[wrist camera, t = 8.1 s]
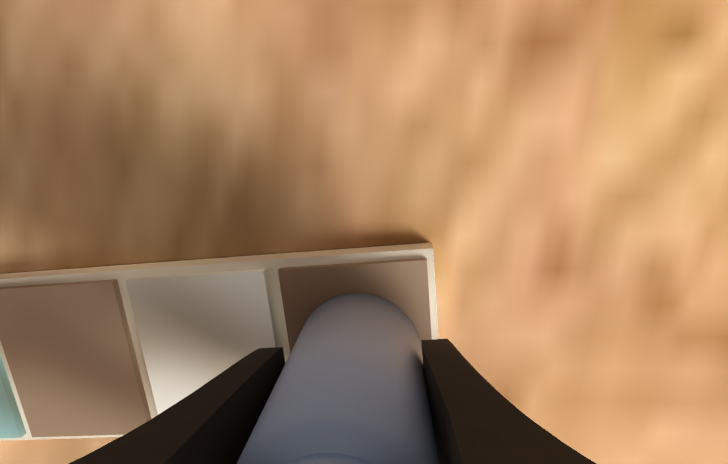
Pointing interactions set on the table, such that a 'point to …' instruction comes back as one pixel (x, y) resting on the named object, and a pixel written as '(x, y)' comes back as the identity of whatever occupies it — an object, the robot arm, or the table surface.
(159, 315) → the board
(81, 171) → the table surface
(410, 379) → the pawn
